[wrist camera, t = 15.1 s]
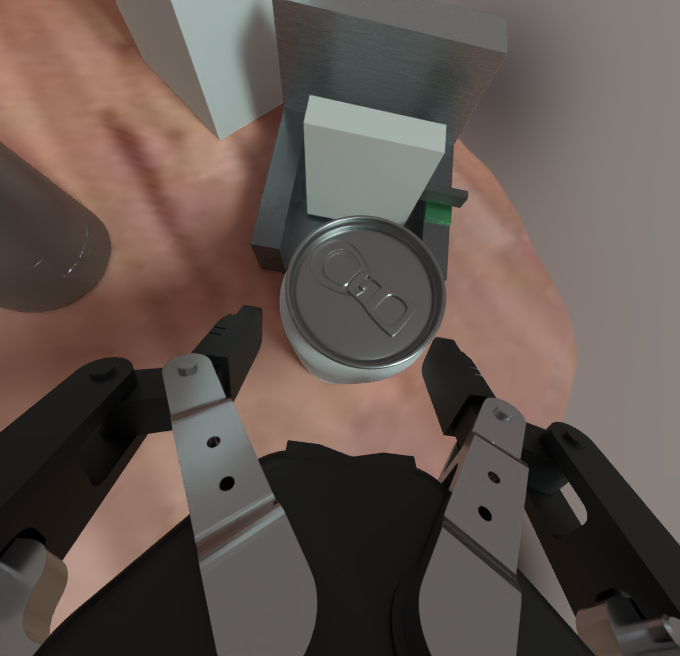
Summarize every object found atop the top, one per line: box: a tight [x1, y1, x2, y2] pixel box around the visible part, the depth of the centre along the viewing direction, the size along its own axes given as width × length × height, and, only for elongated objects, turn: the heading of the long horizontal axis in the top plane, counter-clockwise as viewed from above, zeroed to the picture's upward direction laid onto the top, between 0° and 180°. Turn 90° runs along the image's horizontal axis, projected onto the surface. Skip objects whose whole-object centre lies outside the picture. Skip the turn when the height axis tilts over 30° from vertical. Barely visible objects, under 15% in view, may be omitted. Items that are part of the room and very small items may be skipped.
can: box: [279, 215, 446, 384], centre depth 15 cm, size 6×6×12 cm
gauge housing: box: [250, 0, 507, 281], centre depth 18 cm, size 14×15×10 cm
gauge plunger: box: [304, 95, 468, 226], centre depth 18 cm, size 12×2×8 cm, turn 82°
